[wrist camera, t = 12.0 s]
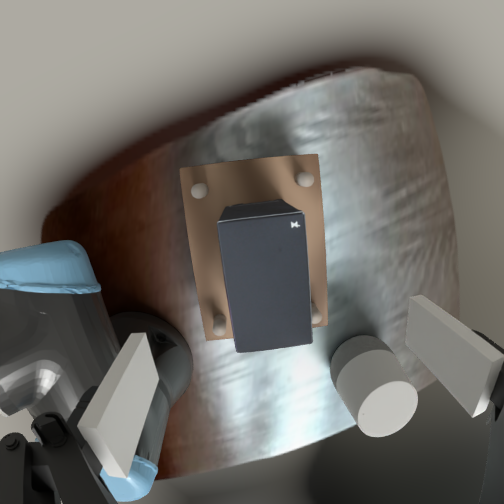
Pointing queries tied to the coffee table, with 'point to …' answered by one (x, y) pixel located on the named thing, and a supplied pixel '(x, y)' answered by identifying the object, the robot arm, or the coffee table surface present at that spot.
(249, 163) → the pegged wooden board
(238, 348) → the small box
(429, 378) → the coffee table surface
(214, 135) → the coffee table surface
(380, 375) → the smart speaker
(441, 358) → the robot arm
